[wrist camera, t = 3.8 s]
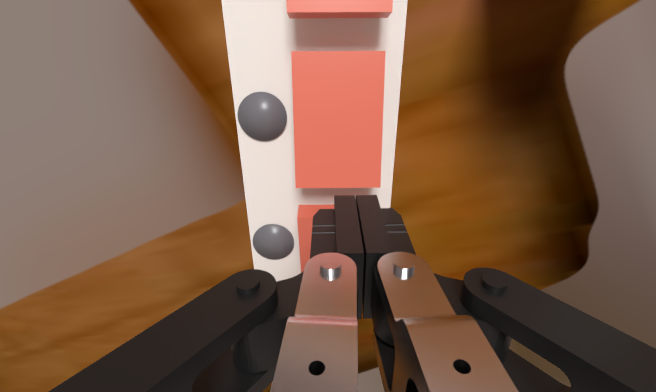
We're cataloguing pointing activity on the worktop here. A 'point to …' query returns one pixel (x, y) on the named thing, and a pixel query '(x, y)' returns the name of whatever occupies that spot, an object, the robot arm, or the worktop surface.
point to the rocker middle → (338, 118)
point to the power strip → (277, 113)
